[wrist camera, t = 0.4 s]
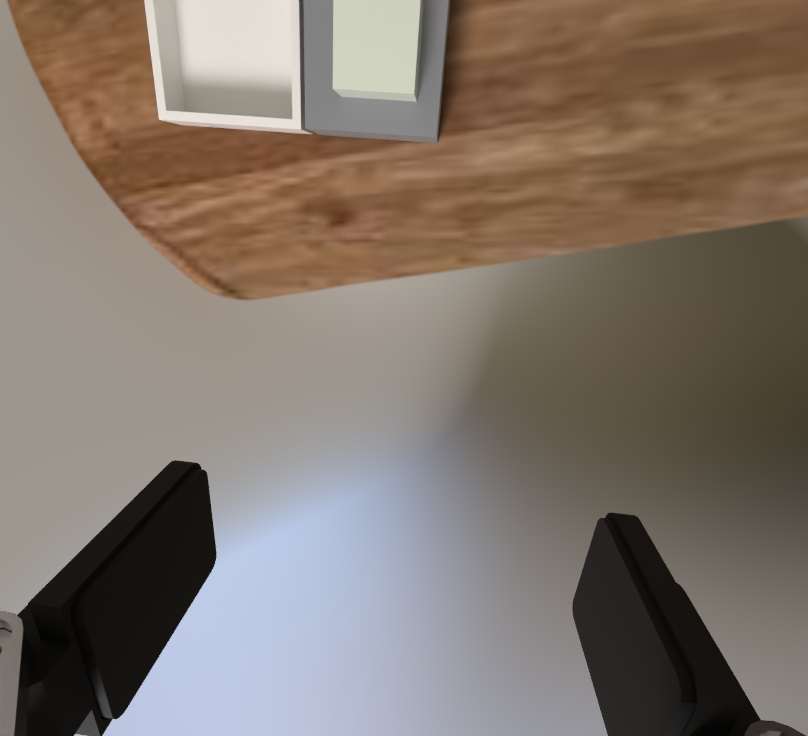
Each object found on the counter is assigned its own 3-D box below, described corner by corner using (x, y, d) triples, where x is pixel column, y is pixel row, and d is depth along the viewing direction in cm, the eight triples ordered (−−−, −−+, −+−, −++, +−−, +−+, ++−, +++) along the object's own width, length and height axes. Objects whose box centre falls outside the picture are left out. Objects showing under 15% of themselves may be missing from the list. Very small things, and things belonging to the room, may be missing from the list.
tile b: (343, 3, 27) (333, -14, 25) (423, 7, 27) (421, -10, 25) (341, 96, 29) (332, 88, 27) (416, 101, 29) (414, 94, 27)
